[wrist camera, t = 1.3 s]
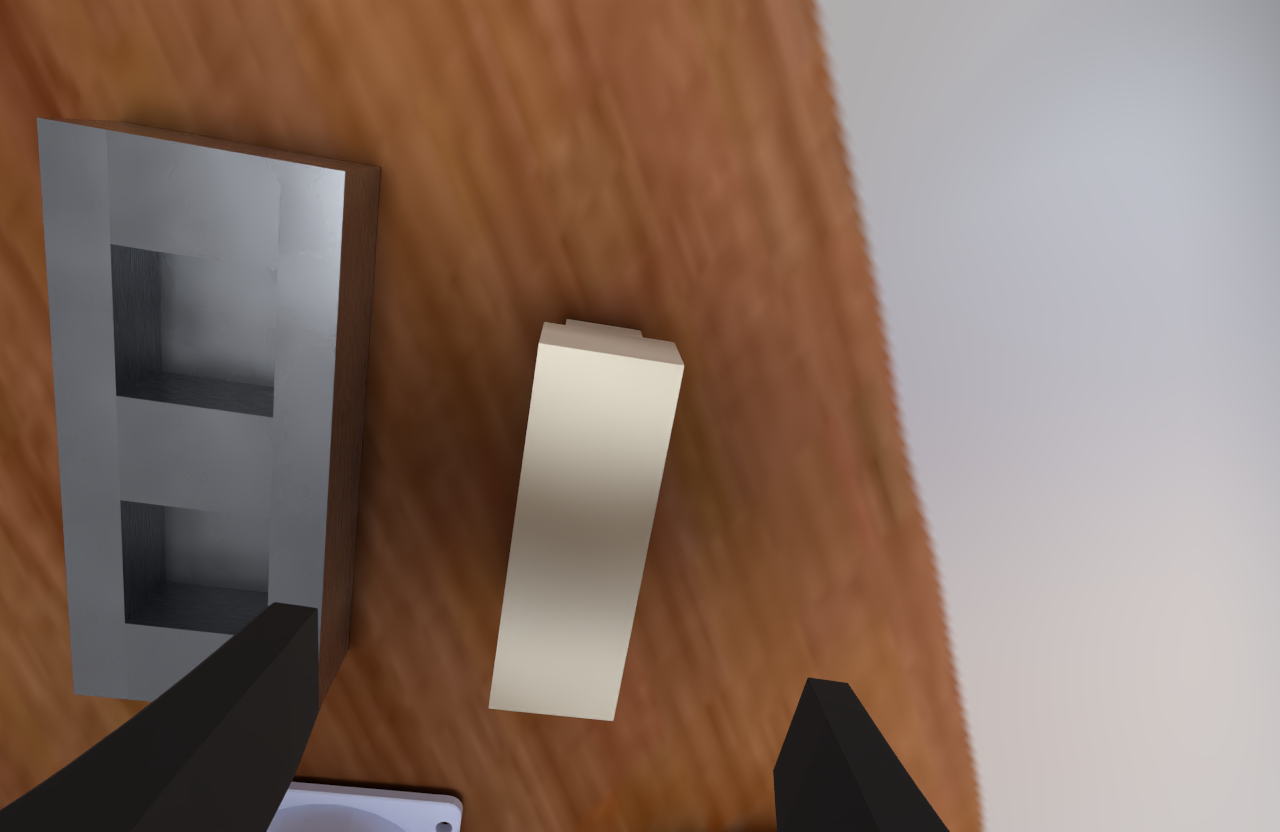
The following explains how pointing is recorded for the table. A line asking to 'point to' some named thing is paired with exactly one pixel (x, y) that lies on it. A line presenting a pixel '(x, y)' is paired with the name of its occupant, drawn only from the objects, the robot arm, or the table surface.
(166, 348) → the slot rail
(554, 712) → the cream stepped block
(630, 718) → the table surface
